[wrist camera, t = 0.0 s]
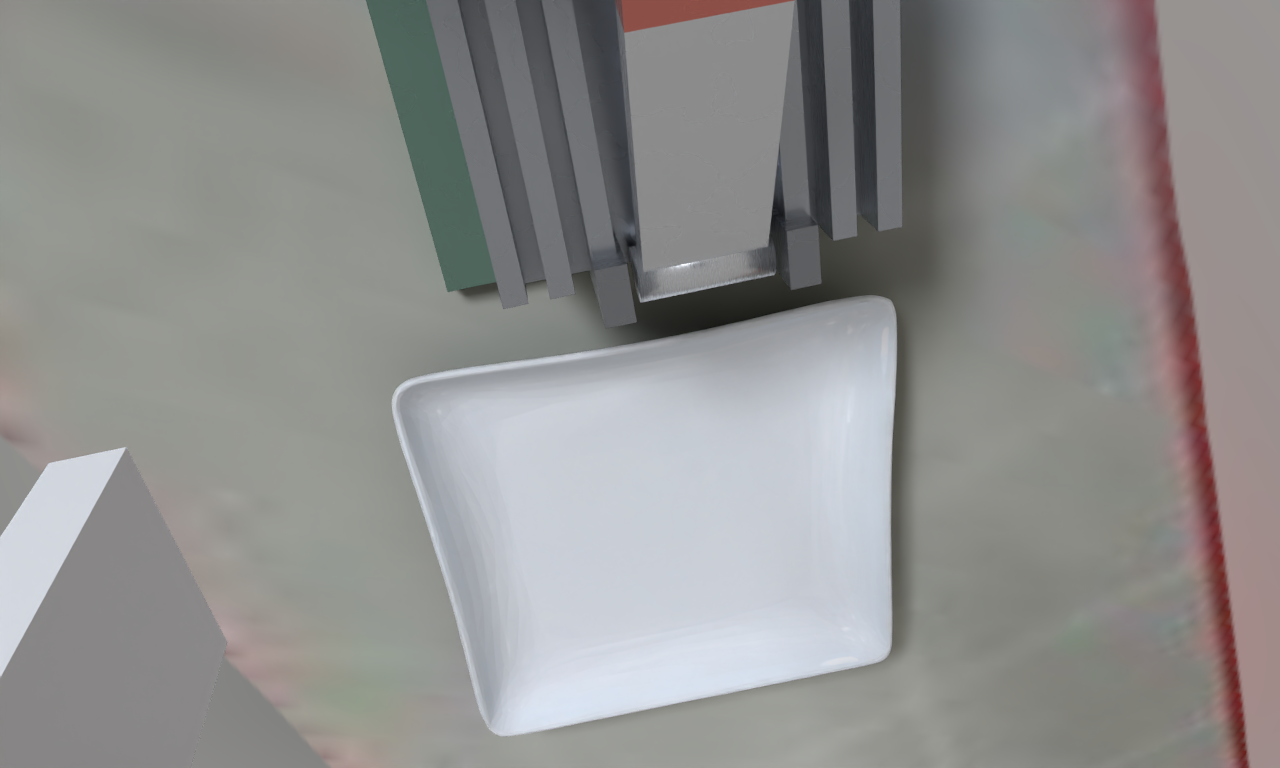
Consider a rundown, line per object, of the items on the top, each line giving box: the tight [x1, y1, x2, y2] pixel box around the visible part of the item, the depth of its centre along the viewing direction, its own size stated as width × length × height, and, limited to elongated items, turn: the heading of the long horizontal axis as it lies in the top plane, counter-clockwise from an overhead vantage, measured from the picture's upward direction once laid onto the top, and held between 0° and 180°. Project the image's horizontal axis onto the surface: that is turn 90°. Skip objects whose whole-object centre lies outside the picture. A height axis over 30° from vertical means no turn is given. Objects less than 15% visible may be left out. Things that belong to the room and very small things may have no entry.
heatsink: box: [366, 0, 902, 329], centre depth 30 cm, size 19×18×10 cm
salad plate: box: [392, 295, 897, 737], centre depth 45 cm, size 21×21×3 cm
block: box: [615, 0, 795, 303], centre depth 25 cm, size 15×4×2 cm
